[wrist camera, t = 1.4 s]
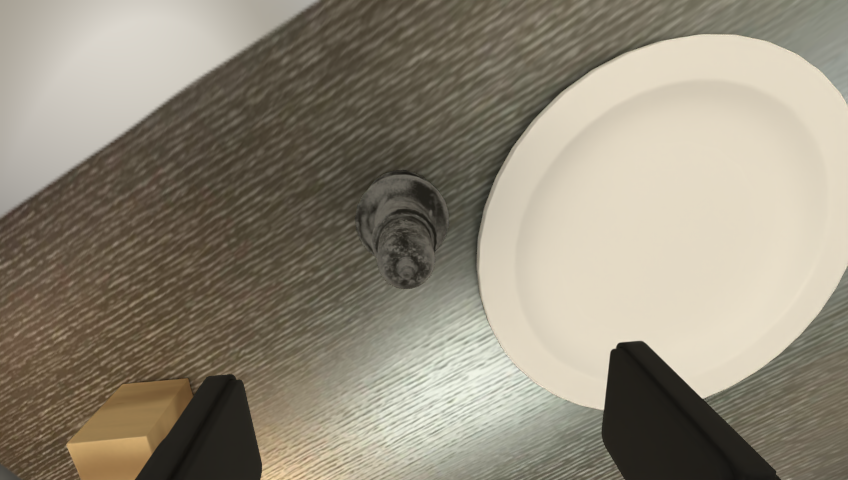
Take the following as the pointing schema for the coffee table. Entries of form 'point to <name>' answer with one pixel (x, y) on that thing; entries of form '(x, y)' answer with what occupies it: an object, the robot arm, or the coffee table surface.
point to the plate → (669, 216)
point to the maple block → (128, 429)
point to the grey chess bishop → (402, 226)
